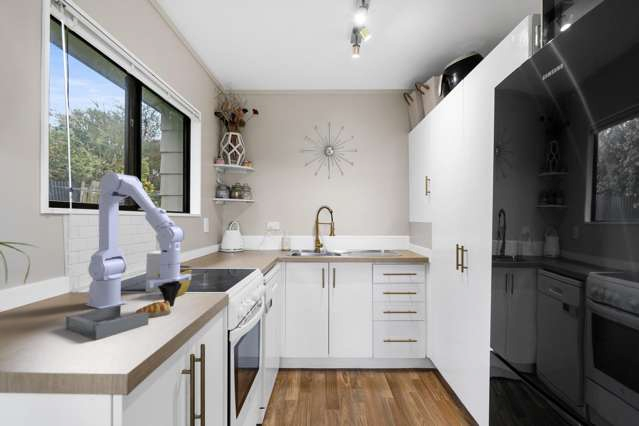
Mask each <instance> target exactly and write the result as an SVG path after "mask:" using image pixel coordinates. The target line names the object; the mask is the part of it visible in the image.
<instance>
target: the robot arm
mask: <svg viewBox="0 0 639 426" xmlns="http://www.w3.org/2000/svg"><path fill="white" fill-rule="evenodd" d="M99 180H100V190H99V191H100V192H99V196H98V250H97V251H96V252H94V253H93V254H92V255H91V256H90V262H89V265H88V274H89V276H90V277H91V278H92V281H91V282H90V284H89V289H88V290H89V292H88V294H89V295H88V296H89V298H88V300H89V302H88V303H85V305H86V307H87V306H88V307H92V308H95V309H101V308H105V307H110V306H114V305H125V304H127V301H124V300H121V295H122V294H121V290H122V289H121V288H122V283H121V281H122V277H124V276H123V274H124V273H126V271H127V266H128V264H127V263H128V262H127V260H126V258H125V252H124V251H122V250H121V249H120V248H119V247H120V245H119V239H120V234H119V231H120V230H119V225H120V224H119V219H120V218H119V210H120V209H119V207H120V206H119V203H120V202H121V201H122V200H123V199H125V198H128V197H131V198H132V199H133V200H134V201H135V203H136V204H137V205H138V206H139V207H140V208H141V210H143V211H144V212H145V216H144V217H145V220H146V221H147V222H148V224H149V225H150V227H152V229H153V230H154V231H155V232H156V235H155V237H156V240H157V243H159V249H160V251H161V258H160V278H156V279H153V280H149V281H146V280H145V288H146V287H148V288H152V287H155V286H158V288H159V289H160V291H161V292H160V293H161V295H162V298H163V300H164V301H168V302H169V304H170V307H174V305H175V301H176V299H177V297H178V296H177V293H178V291H179V289H180V288H181V286H182V283H179V282H180V281H185V280H190V281H191V280H192V273H191V274H181V275H180V270H181V242H183V240H184V239H185V232H184V231H185V230H184V229H183V227H182V226H180V225H176V223H175V222H174V221H172V219H171V218H170V217H169V216H168V214H167V211H166V209H163V208H161V207H157V206H156V205H155V204H154V202H153V201H152V200H151V198H150V197H149V195H148V193H147V192H146V190H145V189H144V188H143V183H142V182H141V181H140V179H139V178H138V177H137V176H135V175H129V174H122V173H119V172H118V173H117V172H114V171H109V172H107V173H105V174H104V175H103V176H102V177H101V178H100V179H99ZM164 301H163V302H164Z"/></svg>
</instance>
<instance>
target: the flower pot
mask: <svg viewBox="0 0 639 426" xmlns="http://www.w3.org/2000/svg"><path fill="white" fill-rule="evenodd" d="M181 274H191V275H192V269H180V275H181ZM158 278H160V273H158ZM179 283H182V286H181V288H180V289H179V291H178V293H177V296H176V297H179V296H182V295H183V294H184V295H185V293H186V292H187V290H188V289H189V286H190V284H191V280H185V281H180V282H179Z"/></svg>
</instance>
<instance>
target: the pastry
mask: <svg viewBox="0 0 639 426" xmlns="http://www.w3.org/2000/svg"><path fill="white" fill-rule="evenodd" d="M142 312H149V318H151V319H152V318H157V317H163V316H165V317H166V316H169V315H170V314H171V313H172V308H171V307H170V304H169V302H168V301H157V302H153V303H150V304H148V305H146V306H143V307H140V308H139V309H137V310H136V311H135V313H134V314H138V313H142ZM149 318H148V319H149Z"/></svg>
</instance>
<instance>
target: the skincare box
mask: <svg viewBox="0 0 639 426" xmlns="http://www.w3.org/2000/svg"><path fill="white" fill-rule="evenodd" d="M160 258H161V250H154V251H150V252H147V253H146V270H145V272H146V273H145V274H146V275H145V282H146V281H149V280H153V279H156V278H158V273H160ZM145 293H161V291H160V289H159V288H158V286H155V287H152V288H148V287H146V286H145Z"/></svg>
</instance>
